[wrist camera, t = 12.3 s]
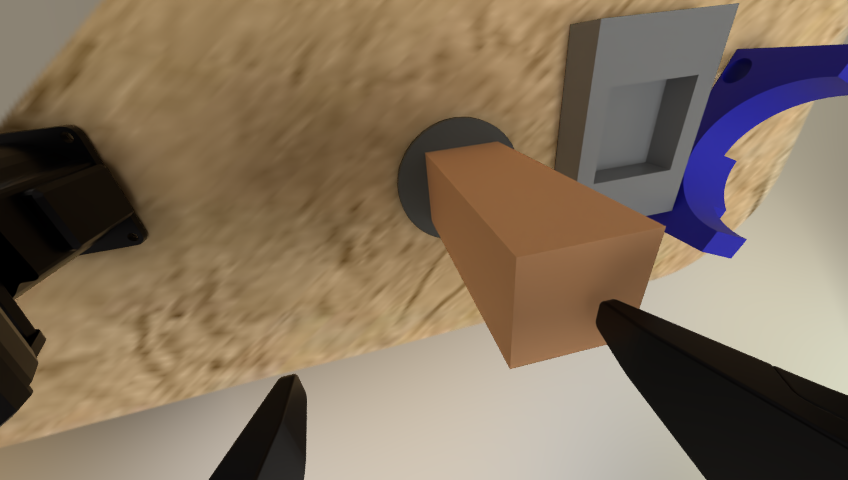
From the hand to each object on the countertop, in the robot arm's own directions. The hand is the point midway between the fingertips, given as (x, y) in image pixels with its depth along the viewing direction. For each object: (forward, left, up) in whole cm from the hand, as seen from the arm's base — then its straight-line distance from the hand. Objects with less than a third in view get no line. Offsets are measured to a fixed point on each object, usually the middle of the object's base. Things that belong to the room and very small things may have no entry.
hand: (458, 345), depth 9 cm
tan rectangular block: (+4, 0, -12) cm, 13 cm away
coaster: (+4, 0, -13) cm, 14 cm away
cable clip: (+23, -1, -13) cm, 27 cm away
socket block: (+15, +2, -13) cm, 20 cm away
